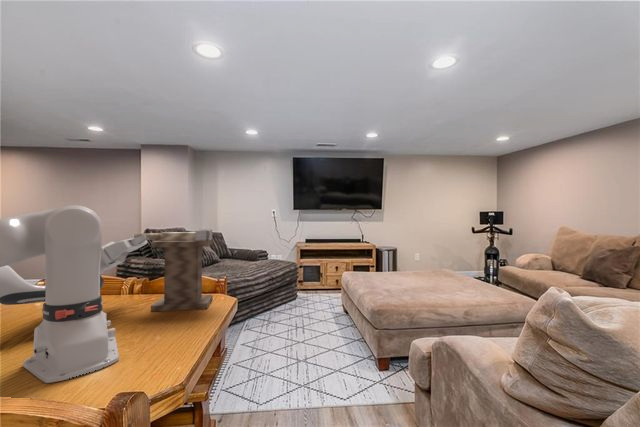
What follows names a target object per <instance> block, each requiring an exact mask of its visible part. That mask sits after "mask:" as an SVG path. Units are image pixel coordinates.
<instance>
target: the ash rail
mask: <svg viewBox="0 0 640 427" xmlns="http://www.w3.org/2000/svg"><path fill="white" fill-rule="evenodd" d="M143 234H146V235H147V238H146V239H145V240H147V241H151V240H152V241H156V240H161V241H193V240H195V231H194V232H193V231H191V232H189V231H188V232H187V231H185V232H184V231H183V232H182V231H181V232H175V231H171V232H170V231H169V232H166V231H165V232H159V233H158V232H154V233H151V232H150V233H149V232H148V233H139V232H138V233H135V234H134V236H133V238H137V237H139V236H141V235H143Z"/></svg>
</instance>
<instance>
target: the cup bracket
mask: <svg viewBox="0 0 640 427" xmlns="http://www.w3.org/2000/svg"><path fill="white" fill-rule="evenodd" d="M194 232H195V241H209V240H211V239H213V229H198V230H197V229H196V230H195V231H194Z"/></svg>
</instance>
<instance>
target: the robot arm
mask: <svg viewBox="0 0 640 427" xmlns="http://www.w3.org/2000/svg"><path fill="white" fill-rule="evenodd" d="M102 235H103V223H102V219H101V217H100V216H99V215H98V214H97V213H96V212H95V211H94V210H92V209H91V208H89V207H86V206H84V205H75V204H73V205H65V206H61V207H57V208H51V209H46V210H41V211H35V212H30V213H25V214H19V215H14V216H7V217H2V218H0V304H1V305H3V306H5V305H6V306H11V305H12V306H15V305H26V304H27V305H28V304H36V303H43V304H42V309H41V310H42V319H43V320H42V321H41V323H40V324H38V325H37V326H36V327H35V328H34V331H33V332H34V333H33V349H32V350H33V351H32V356H31V357H28V358H26V359H24V361H22V367H23V368H24V369H26V370H27V371H29V373H31V374H33V376H35V377H37V379H38V380H41V381H42V383H43V382H44V383H45V384H50V383H56V382H61V381H65V380H69V378H70V379H73V378H72V377H74V378H76V376H77V377H80V376H79V375H81V376H83V375H82V374H84V375H86V373H87V374H89V372H90V373H93V372H95V370H96V371H98V370H101V369H103V367H104V368H106V367H108V366H110V365H114V364H115V363H116V362H118V361H119V360H120V355H119V350H118V344H117V339H116V328H115V327H112V328H108V327H110V326H111V324H112V322H111V320H107V313H106V312H104V311H103V309H104V308H103V303H104V302H103V298H102V295H101V289H102V288H103V286H104V283H105V280H104V279H103V276H102V275H101V274H103V273H104V272H105V271H107V270H110V269H112V268H114V267H116V266H117V265H120V264H122V263H123V262H125V261H126V259H127V258H126V257H128V255H129V253H131V252H134V251H136V250H139V249H140V248H142V247H143V246H145V245H147V244H148V240H145V239H146V238H147V235H146V234H143V235H141V236H139V237H137V238H134V237H131V238H127V239H122V240H119V241H116V242H115V241H109V242H108V243H105V244H104V245H102V240H103V239H102V237H103V236H102ZM43 255H44V266H45V267H44V268H45V283H44V284H45V285H36V284H33V283H30V282H29V281H27V280H25V279H24V278H23V277H22V276H20V275H19V274H18V273H17V272H16V271H15V270H14V269H13V268H12V267H11V265H14V264H17V263H23V262H25V261H29V260H32V259H36V258H38V257H40V256H43Z"/></svg>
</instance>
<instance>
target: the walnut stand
mask: <svg viewBox="0 0 640 427" xmlns="http://www.w3.org/2000/svg"><path fill="white" fill-rule="evenodd" d="M213 243H214V238H212V239H211V240H209V241H195V240H193V241H161V240H152V241H151V243H150V244H151V245H150V246H151V248H164V273H163V274H164V278H163V279H164V281H163V282H164V283H163V284H164V285H163V286H164V289H163V290H164V291H163V292H164V296H161V297H160V298H158V299H157V301H155V302H154V303H153V304H151V305H150V312H165V311H166V312H167V311H182V310H183V311H185V310H187V311H188V310H205V308H207V309H208V308H209V306H210V305H211V303H212V301H213V300H212V299H213V298H214V296H213V294H205V295H204V294H203V293H202V292H203V291H202V290H203V247H206V248H207V247H209V246H211V245H213ZM202 294H203V295H202ZM211 300H212V301H211ZM210 302H211V303H210ZM209 304H210V305H209Z"/></svg>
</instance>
